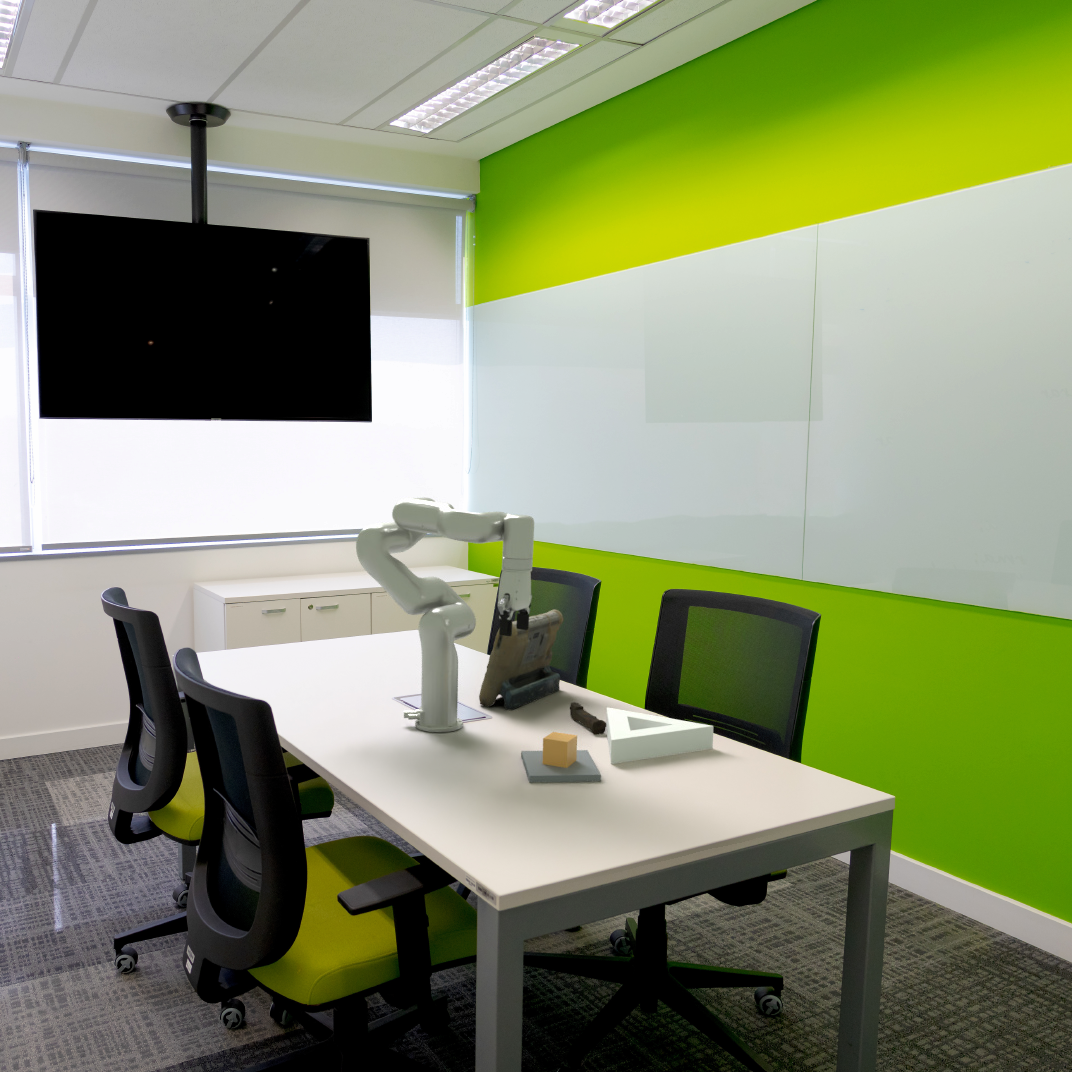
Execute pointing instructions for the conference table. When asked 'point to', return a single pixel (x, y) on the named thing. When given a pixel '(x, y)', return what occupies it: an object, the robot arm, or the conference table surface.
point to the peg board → (560, 768)
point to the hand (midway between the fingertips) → (514, 632)
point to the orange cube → (559, 749)
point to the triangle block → (652, 736)
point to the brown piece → (587, 719)
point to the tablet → (522, 663)
